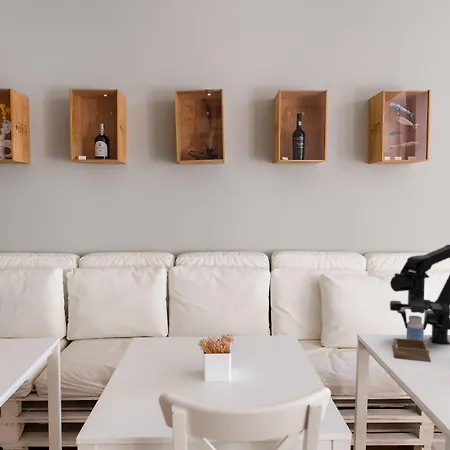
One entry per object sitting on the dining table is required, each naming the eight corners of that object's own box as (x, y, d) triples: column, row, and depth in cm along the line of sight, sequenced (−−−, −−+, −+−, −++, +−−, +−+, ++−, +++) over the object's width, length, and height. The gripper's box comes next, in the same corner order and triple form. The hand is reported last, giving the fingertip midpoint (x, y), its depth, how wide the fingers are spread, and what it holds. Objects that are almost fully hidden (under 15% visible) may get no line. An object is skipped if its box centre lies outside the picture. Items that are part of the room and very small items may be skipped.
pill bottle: (425, 348, 168) (426, 319, 167) (409, 347, 168) (410, 319, 168) (419, 342, 174) (420, 315, 173) (403, 342, 174) (404, 314, 174)
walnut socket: (392, 347, 169) (392, 337, 169) (426, 350, 165) (426, 340, 165) (394, 358, 158) (394, 347, 157) (430, 361, 154) (430, 351, 154)
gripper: (391, 292, 165) (390, 332, 166) (446, 295, 159) (445, 337, 160) (390, 286, 176) (389, 324, 177) (441, 289, 170) (440, 328, 171)
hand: (415, 328), depth 171 cm, fingers closed on pill bottle, 6 cm apart
